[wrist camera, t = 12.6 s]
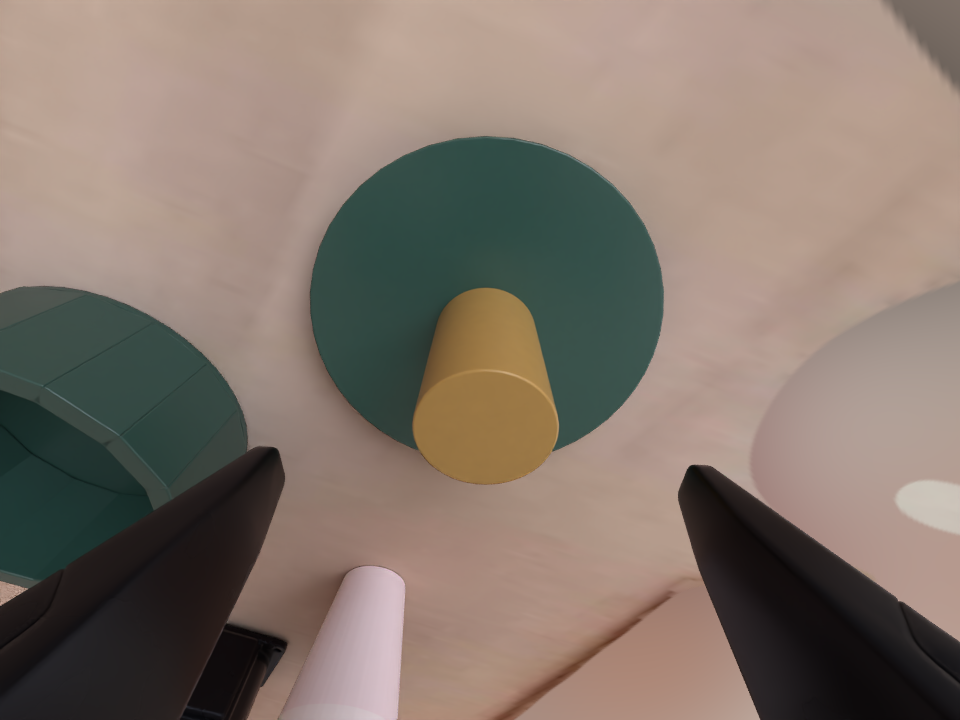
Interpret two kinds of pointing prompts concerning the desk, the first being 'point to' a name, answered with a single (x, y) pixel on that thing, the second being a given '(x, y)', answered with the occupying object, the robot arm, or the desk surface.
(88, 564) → the robot arm
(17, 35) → the desk surface
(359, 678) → the smoothie
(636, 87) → the desk surface
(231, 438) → the tin
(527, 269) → the lid
